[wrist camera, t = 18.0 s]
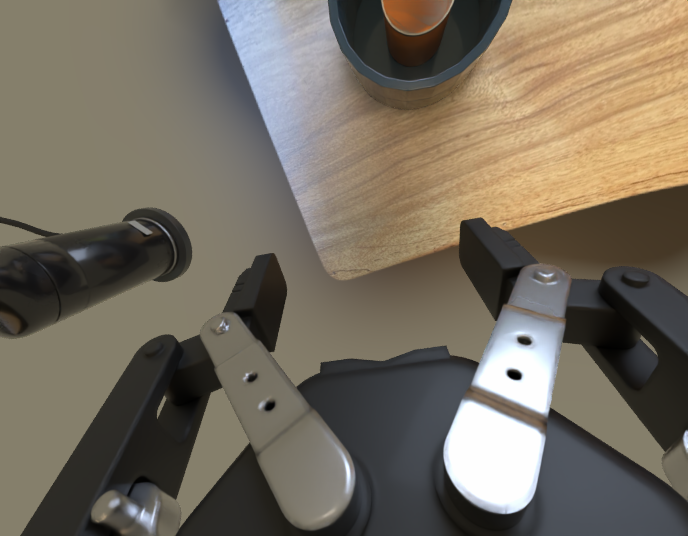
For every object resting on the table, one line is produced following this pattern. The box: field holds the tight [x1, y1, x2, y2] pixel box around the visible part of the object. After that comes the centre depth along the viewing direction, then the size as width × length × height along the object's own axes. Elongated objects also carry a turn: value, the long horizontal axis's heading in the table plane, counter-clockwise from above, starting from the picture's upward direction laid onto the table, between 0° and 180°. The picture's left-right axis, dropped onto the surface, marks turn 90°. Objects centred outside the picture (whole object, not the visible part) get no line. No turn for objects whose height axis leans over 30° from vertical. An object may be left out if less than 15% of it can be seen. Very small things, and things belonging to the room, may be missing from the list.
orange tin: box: [381, 0, 454, 67], centre depth 25 cm, size 6×6×8 cm
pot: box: [328, 0, 512, 110], centre depth 25 cm, size 13×13×9 cm
